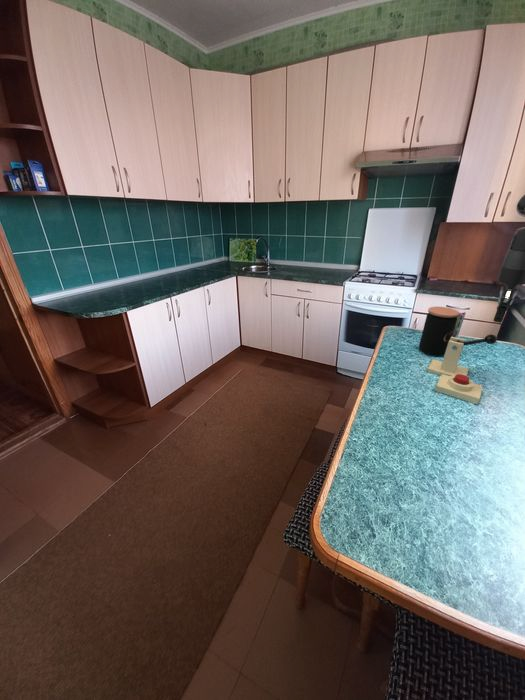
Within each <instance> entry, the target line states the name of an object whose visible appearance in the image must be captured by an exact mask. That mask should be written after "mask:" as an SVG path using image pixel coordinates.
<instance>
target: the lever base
mask: <svg viewBox="0 0 525 700" xmlns="http://www.w3.org/2000/svg"><path fill="white" fill-rule="evenodd" d="M458 340H460V342H466V339H464V338H459V337H458V338H455V337H451V339H450V340H449V342H448V346H447V349H446V352H445V355H443V359H442V361H441V360H438V359H432V360H431V362H430V363H429V365H428V367H427V369H426V372H428V373H431V374H434V375H438V376H441V375H442V374H443V375H447V376H453V375H457V374H461V375H465V376H467V377H468V374H469V370H470V368H468V367H465V366H461V365H458V364H459V361H460V359H461V354H462V351H463V349H464V346H465V345H464V344H463V343H459V342H454V341H458ZM463 345H464V346H463Z"/></svg>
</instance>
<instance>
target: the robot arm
mask: <svg viewBox="0 0 525 700" xmlns="http://www.w3.org/2000/svg"><path fill="white" fill-rule="evenodd" d="M516 213H517V214H518V215H519V216H521V217H523V218H525V194H523V195H522V197H520V198H519V200H518V201H517V204H516ZM497 281H498V282H499V283H501V284H505V286H501V288H500V291H499V296H498V298H497V299H498V300H497V306H496V312H495V314H494V317H493V319H492V321H493V322H495V323H500V324H501V323H503V321H504V317H505V315H506V312H507V311H509V308H510V306H511V305H512V304H513V302H514V299H515V297H516V296H517V295H518V291H519V288H518V287H517V286H525V226H524V227H520V228H518V229H516V230H515V232H514V233H513V236H512V240H511V242H510V245H509V248H508V249H507V252H506V254H505V256H504V259H503V261H502V264H501V267H500V270H499V273H498V276H497Z"/></svg>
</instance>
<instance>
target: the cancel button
mask: <svg viewBox="0 0 525 700" xmlns="http://www.w3.org/2000/svg"><path fill="white" fill-rule="evenodd" d="M469 380H471V379H470V377H469V376H468V375H467V376H465V375H461V374H457V375H455V378H454V382H456V383H458V384H461V385H468V383H469Z"/></svg>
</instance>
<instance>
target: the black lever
mask: <svg viewBox="0 0 525 700" xmlns="http://www.w3.org/2000/svg"><path fill="white" fill-rule="evenodd" d="M497 341H498V337H497V336H496V335H495V334H491V333H490V334H487V335H486V336H485V337H484V338H478V339H473V340H465V342H460V340H458V341H454V342H459V343H463V344H464V345H463V347H464V346H468V345H476V344H482V343H485V344H488V345H493V344H495V343H496V342H497Z"/></svg>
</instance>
